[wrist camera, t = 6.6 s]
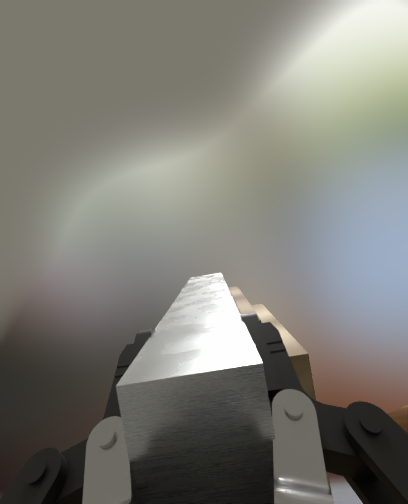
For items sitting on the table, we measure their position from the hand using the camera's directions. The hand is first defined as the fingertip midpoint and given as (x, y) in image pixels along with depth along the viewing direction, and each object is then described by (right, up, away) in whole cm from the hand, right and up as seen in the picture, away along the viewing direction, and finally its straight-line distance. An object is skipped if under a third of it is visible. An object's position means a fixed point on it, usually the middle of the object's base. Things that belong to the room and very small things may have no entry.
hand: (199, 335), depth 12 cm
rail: (+1, -3, +8) cm, 9 cm away
